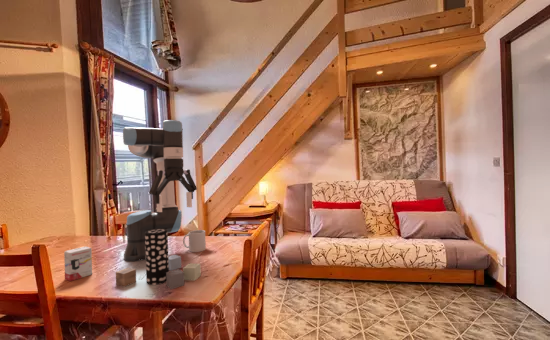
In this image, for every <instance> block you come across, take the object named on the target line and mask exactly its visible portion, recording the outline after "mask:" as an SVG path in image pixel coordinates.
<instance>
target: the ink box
mask: <svg viewBox="0 0 550 340" xmlns="http://www.w3.org/2000/svg"><path fill="white" fill-rule="evenodd" d="M63 253H64V256H63V257H64V258H63V259H64V261H63V262H64V280H66V281H68V282H73V281H75V280H79V279H81V278H82V279H83V278H84V277H87V276H91V275H93V259H92V258H93V257H92V255H93V253H92V247H89V246H81V247H77V248H73V249H68V250H65V251H63Z"/></svg>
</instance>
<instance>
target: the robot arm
mask: <svg viewBox="0 0 550 340" xmlns="http://www.w3.org/2000/svg"><path fill="white" fill-rule="evenodd" d="M122 135H123V136H122V140H123V145H125V146H127V147H128V150H129V152H130V153H131V154H132V155H134V156H137V157H140V158H145V159H153V160H152V161H153V163H154V164H156V176H155V179H154V181H153V182H152V185H151V187H150V190H149V192H148V193H149V195H152V196H153V197H154V204H155V205H156V208H155V212H154V211H153V212H152V210H151V209H146V210H145V209H144V210H140V211H136V212H132V213H130V214H128V215H127V216H126V223H125V224H126V240H127V242H126V243H127V244H126V247H125V249H124V250H125V251H124V253H123V260H124V261H127V262H139V261H144V260H146V249H145V232H146V231H149V230H153V229H167V231H168V234H169V233H170V234H171V233H175V232H178V231H180V229H181V225H182V218H183V217H182V210H181V209H179V206H178V205H176V197H175V181H177V182H180V183H181V185H182V186H183V187H184V188H185V190H187V191H186V194H185V195H186V208H193V202H192V201H193V199H194V192H195V191H197V189H198V188H197V185H196V184H195V182H194V179H193V177H192V175H191V170H190V169H184V158H183V157H184V146H183V145H184V144H183V141H184V139H183V138H184V137H183V123H182V121H180V120H174V119H173V120H172V119H167V120H163V122H162V128H158V127H157V128H154V127H135V126H134V127H133V126H131V127H130V126H129V127H127V126H125V127H124V128H123V129H122ZM183 175H184V176H185V177H184V176H183Z"/></svg>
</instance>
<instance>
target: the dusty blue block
mask: <svg viewBox="0 0 550 340" xmlns="http://www.w3.org/2000/svg"><path fill="white" fill-rule="evenodd" d="M168 262H169V272H170V271H174V270H177V269H181V268H182V257H181V256H180V255H178V254H172V255H170V256H169V255H168Z"/></svg>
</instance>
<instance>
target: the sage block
mask: <svg viewBox="0 0 550 340" xmlns="http://www.w3.org/2000/svg"><path fill="white" fill-rule="evenodd" d="M201 269H202V268H201V264H200V263H188V264H186V265H185V266H184V267H183V268H182V272H184V281H194V282H195V281H196V280H198V279H199V278H200V277H201V276H202V275H201V273H202V272H201Z"/></svg>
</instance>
